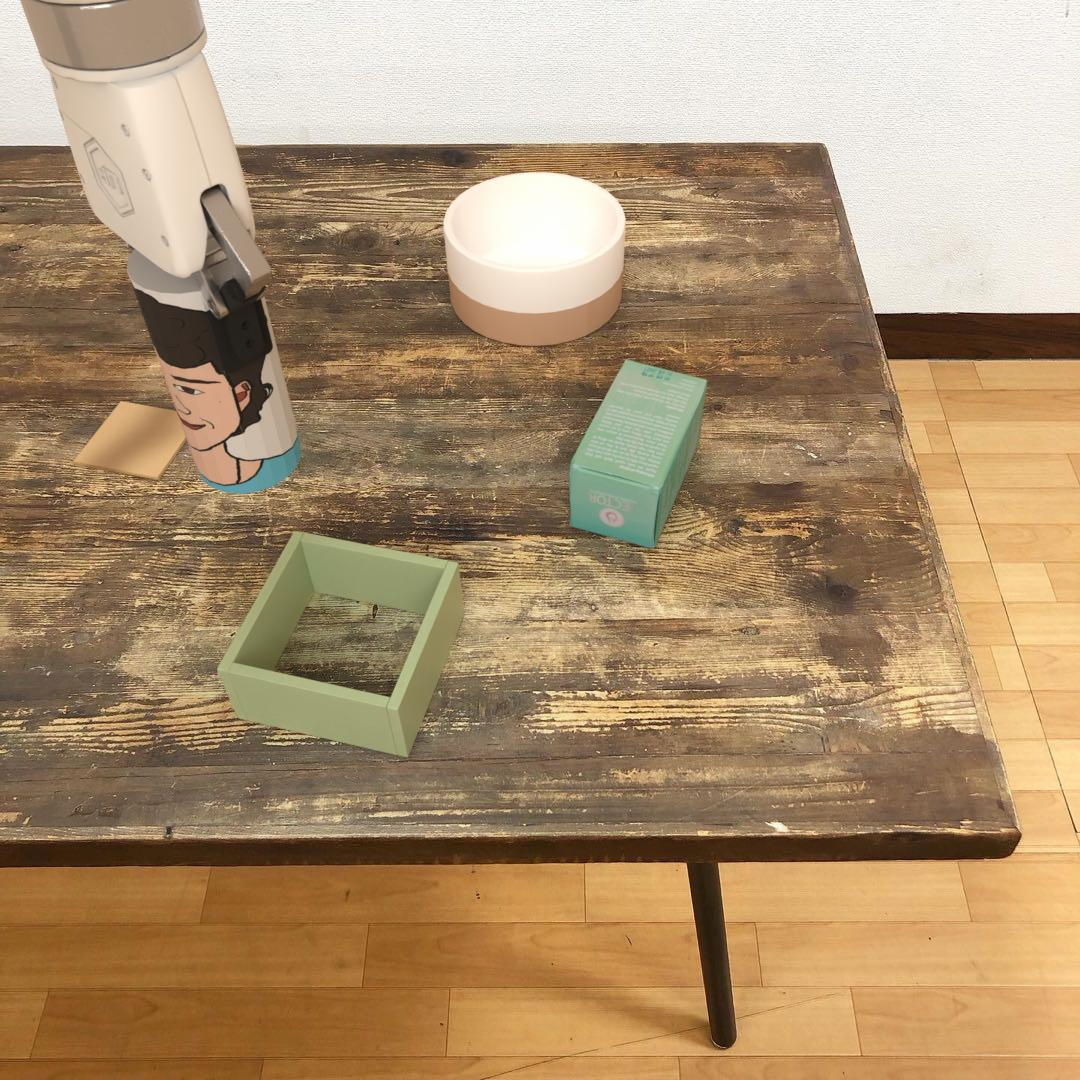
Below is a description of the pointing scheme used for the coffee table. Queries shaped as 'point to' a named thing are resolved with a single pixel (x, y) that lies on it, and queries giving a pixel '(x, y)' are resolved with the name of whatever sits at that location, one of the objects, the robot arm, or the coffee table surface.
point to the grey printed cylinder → (217, 385)
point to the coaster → (135, 441)
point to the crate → (356, 578)
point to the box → (636, 453)
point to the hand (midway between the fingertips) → (210, 329)
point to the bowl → (535, 257)
